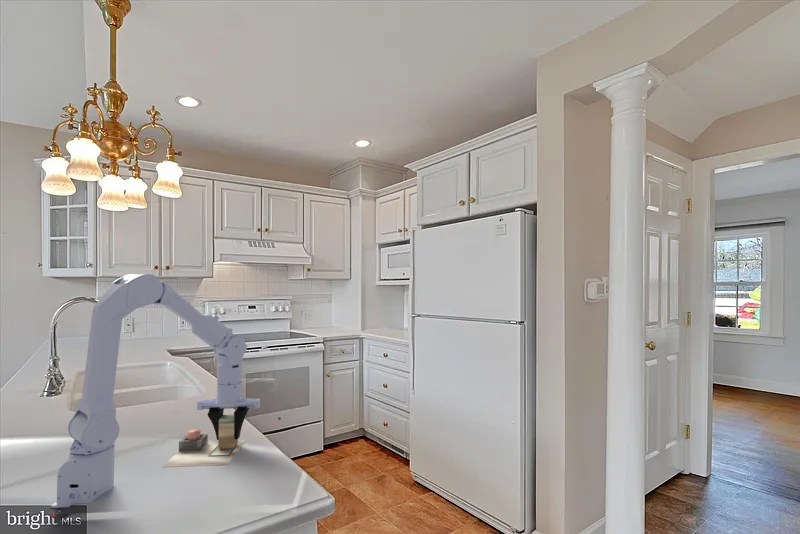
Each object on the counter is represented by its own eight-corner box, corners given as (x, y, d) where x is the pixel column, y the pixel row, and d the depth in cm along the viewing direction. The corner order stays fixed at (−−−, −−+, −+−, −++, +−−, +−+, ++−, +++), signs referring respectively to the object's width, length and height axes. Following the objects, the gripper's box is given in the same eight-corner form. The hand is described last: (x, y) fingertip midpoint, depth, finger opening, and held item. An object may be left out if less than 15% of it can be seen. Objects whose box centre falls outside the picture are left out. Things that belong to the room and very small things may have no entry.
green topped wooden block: (233, 448, 106) (234, 418, 106) (218, 448, 105) (218, 419, 106) (237, 442, 109) (238, 414, 109) (222, 443, 109) (223, 414, 109)
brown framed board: (230, 470, 96) (230, 456, 96) (153, 473, 94) (154, 459, 94) (250, 441, 114) (250, 429, 114) (186, 442, 112) (186, 431, 112)
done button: (197, 443, 106) (197, 432, 106) (184, 444, 106) (185, 433, 106) (202, 439, 109) (202, 428, 109) (189, 439, 109) (189, 429, 109)
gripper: (263, 378, 112) (262, 431, 112) (204, 379, 111) (203, 433, 111) (256, 384, 105) (255, 441, 105) (194, 385, 104) (193, 443, 104)
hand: (228, 438), depth 107 cm, fingers closed on green topped wooden block, 4 cm apart
